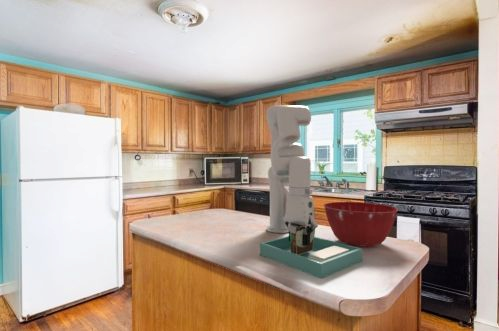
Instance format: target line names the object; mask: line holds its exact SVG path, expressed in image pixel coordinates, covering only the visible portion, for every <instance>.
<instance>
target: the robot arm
mask: <svg viewBox="0 0 499 331" xmlns="http://www.w3.org/2000/svg"><path fill="white" fill-rule="evenodd" d="M311 121H312V113H311V110H310V108H309V107H308V106H305V105H288V104H287V105H286V104H285V105H283V104H278V105H277V104H276V105H275V104H274V105H271V106H269V107H268V108H267V109H266V123H267V125H268V128H269V132H270V162H271V167H269V168H268V171H267V177H268V183H269V184H268V185H269V225H268V226H266V231H267V232H270V233H275V234H287V233H288V236H289V241H290V231H289V230H288V228H289V225H290V223H293V224H297V225H301V226H302V227H303V231H304V234H303V246H307V245H310V234H311V233H312V231H313V230H314V229H315V230H316V229H317V228H318V226H319V225H318V222H316V212H315V204H314V199H313V198H314V197H313V196H312V194H313V190H312V189H311V176H312V175H311V169H312V168H311V166H312V165H311V159H310V158H309V157H308V156H305V148H304V146H303V144H301V143H298V141H299V140H300V139H301V131H300V127H307V126H309V125H310V123H311ZM285 186H288V190H287V188H286V187H285ZM310 224H312V226H310ZM306 226H307V228H306Z"/></svg>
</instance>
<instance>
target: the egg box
mask: <svg viewBox="0 0 499 331" xmlns="http://www.w3.org/2000/svg"><path fill="white" fill-rule="evenodd" d="M347 252H349V249H345V248H342V247H338V246H332V247H328V248H325V249H322V250H319V251H316V252H313V253H310V254H309V256H308V258H309V259H312V260H315V261H318V262H323V261H326V260H328V259H331V258H334V257H336V256H339V255H342V254H344V253H347Z"/></svg>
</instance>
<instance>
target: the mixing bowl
mask: <svg viewBox="0 0 499 331" xmlns="http://www.w3.org/2000/svg"><path fill="white" fill-rule="evenodd" d="M322 206H323V207H324V210H325V214H326V219H327V221H328V224H329V227H330V229H331V231H332V232H333V234H334V236H335V238H336V239H337V240H339V241H340V243H342V244H346V245H350V246H354V247H358V248H362V249H363V248H364V249H372V248H375V247H377V246H378V245H380V244H382V243H383V242H385V241H386V239H387V237H388V236H389V234H390V232H391V230H392V228H393V226H394V224H395V221H396V216H397V214H398V211H399V209H398V208H397V207H395V206H391V205H388V204H381V203H372V202H362V201H361V202H359V201H334V202H327V203H324V204H323V205H322Z"/></svg>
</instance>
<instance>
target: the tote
mask: <svg viewBox="0 0 499 331" xmlns="http://www.w3.org/2000/svg"><path fill="white" fill-rule="evenodd" d="M332 246H338V247H342V248H345V249H349V252H347V253H344V254H342V255H339V256H336V257H334V258H331V259H328V260H326V261H323V262H318V261H315V260H312V259H309V258H308V256H309V254H310V253H313V252H316V251H319V250H322V249H325V248H328V247H332ZM259 256H260V257H261V256H262V257H265V258H267V259H271V260H272V261H273V260H274V261H276V262H278V263H281V264H283V265H286V266H288V267H291V268H294V269H295V270H298V271H301V272H304V273H307V274H308V275H311V276H315V277H317V278H319V279H323V278H326V277H328V276H330V275H333V274H335V273H337V272H340V271H343V270H344V269H346V268H349V267H351V266H353V265H356V264H359V263H360V262H362V261H363V248H359V247H354V246H350V245H346V244H343V243H342V242H337V241H334V240H330V239H325V238H321V237H318V236H315V235H314V244H313V251H310V252H307V253H304V254H301V255H298V254H295V253H292V252H291V244H290V241H289V235H288V236H284V237H280V238H276V239H272V240H268V241H263V242H260V243H259Z"/></svg>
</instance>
